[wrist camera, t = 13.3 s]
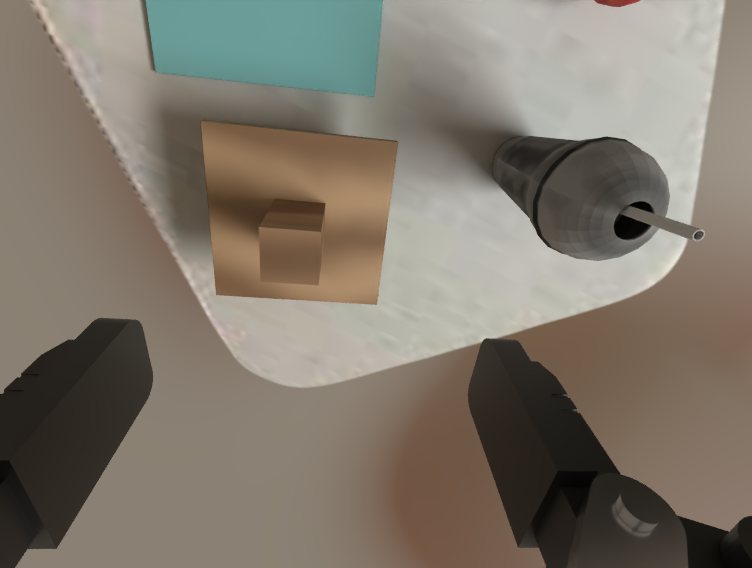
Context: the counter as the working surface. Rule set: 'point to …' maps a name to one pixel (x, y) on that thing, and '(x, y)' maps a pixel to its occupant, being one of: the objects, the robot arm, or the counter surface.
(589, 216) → the beverage cup
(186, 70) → the mat
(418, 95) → the counter surface
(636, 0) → the pomegranate
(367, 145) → the lid
